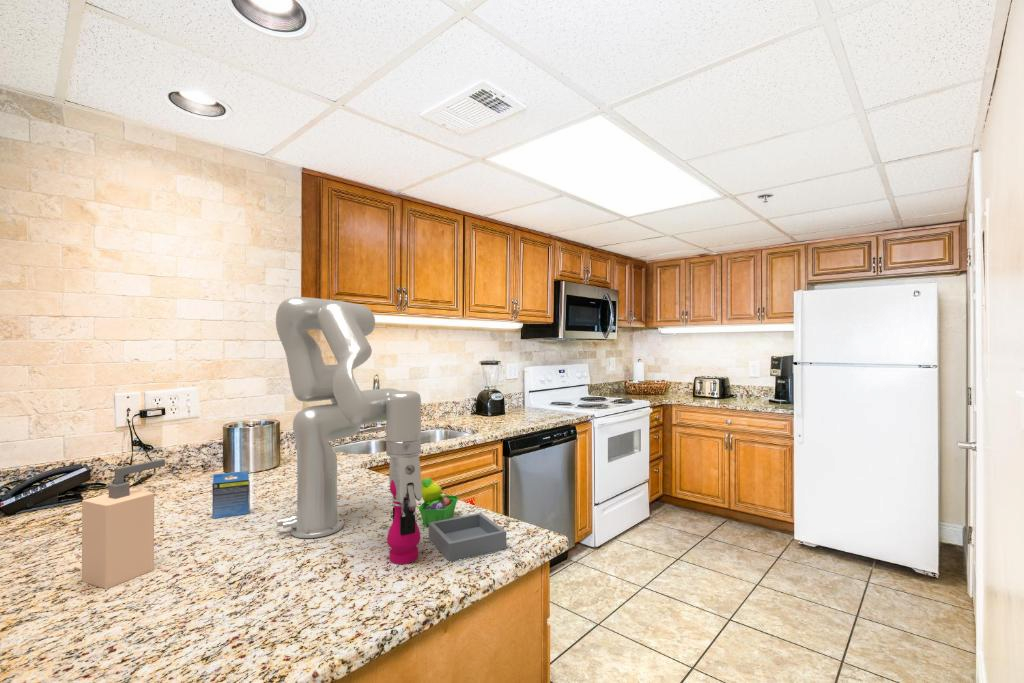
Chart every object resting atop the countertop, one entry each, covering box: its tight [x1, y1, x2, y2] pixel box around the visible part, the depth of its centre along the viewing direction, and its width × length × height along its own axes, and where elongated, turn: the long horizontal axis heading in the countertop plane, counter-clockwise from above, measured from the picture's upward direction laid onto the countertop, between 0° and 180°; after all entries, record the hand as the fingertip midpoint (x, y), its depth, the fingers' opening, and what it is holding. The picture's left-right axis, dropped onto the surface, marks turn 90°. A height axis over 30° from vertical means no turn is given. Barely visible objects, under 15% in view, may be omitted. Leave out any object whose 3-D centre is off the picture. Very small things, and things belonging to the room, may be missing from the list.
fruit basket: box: [418, 477, 459, 527], centre depth 126 cm, size 11×9×11 cm
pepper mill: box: [386, 480, 422, 565], centre depth 103 cm, size 7×7×20 cm
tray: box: [428, 512, 507, 563], centre depth 110 cm, size 14×14×4 cm
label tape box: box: [211, 470, 251, 520], centre depth 131 cm, size 9×4×12 cm, turn 115°
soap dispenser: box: [81, 458, 166, 590], centre depth 98 cm, size 13×9×22 cm
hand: (403, 528), depth 103 cm, fingers closed on pepper mill, 5 cm apart
